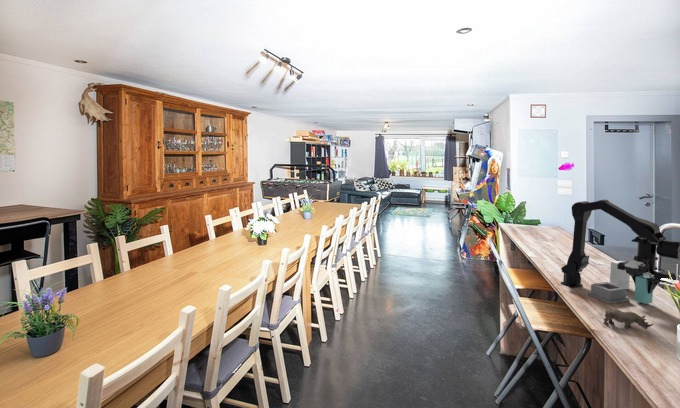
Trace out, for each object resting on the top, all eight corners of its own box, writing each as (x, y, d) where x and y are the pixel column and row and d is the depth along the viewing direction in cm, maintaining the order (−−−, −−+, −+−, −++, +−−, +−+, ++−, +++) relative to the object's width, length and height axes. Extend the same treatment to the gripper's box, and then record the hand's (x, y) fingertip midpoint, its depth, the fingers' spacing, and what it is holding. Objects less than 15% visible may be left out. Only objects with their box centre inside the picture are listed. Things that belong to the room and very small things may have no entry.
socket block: (587, 294, 157) (588, 283, 156) (605, 292, 159) (606, 281, 158) (610, 303, 147) (610, 291, 146) (628, 300, 149) (629, 288, 149)
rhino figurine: (653, 335, 121) (655, 318, 120) (603, 325, 129) (604, 309, 128) (652, 330, 124) (653, 313, 124) (603, 320, 132) (604, 305, 132)
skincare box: (620, 285, 166) (622, 260, 164) (629, 289, 161) (631, 263, 160) (608, 286, 165) (610, 261, 164) (617, 290, 161) (618, 263, 159)
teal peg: (634, 299, 147) (635, 276, 146) (641, 298, 148) (643, 275, 147) (644, 303, 143) (646, 279, 142) (652, 302, 144) (653, 278, 143)
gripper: (608, 250, 150) (605, 286, 152) (656, 262, 133) (653, 302, 134) (628, 248, 153) (626, 283, 155) (679, 259, 135) (675, 299, 137)
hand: (643, 291), depth 145 cm, fingers closed on teal peg, 4 cm apart
